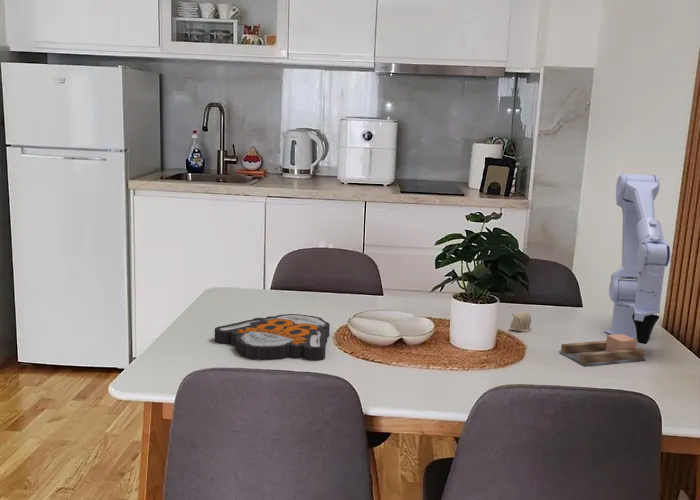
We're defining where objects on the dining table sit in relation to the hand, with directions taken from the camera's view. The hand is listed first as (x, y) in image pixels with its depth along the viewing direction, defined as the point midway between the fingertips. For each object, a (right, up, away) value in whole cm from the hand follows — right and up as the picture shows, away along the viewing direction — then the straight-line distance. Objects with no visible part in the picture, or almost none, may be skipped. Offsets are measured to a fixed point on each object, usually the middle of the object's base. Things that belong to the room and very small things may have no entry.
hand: (642, 342), depth 179 cm
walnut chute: (-12, -3, -4) cm, 12 cm away
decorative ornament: (-27, +1, +16) cm, 32 cm away
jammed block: (-6, -3, -2) cm, 7 cm away
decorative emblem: (-91, 0, -3) cm, 91 cm away
